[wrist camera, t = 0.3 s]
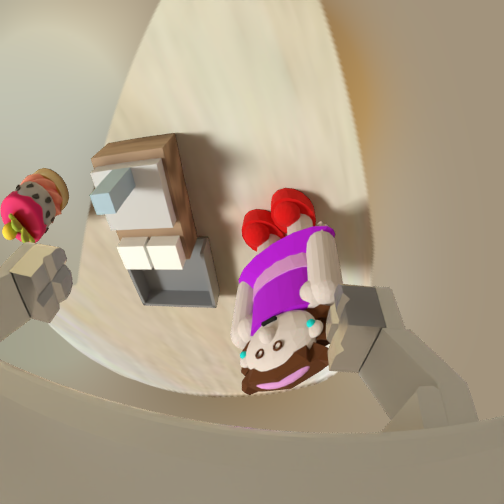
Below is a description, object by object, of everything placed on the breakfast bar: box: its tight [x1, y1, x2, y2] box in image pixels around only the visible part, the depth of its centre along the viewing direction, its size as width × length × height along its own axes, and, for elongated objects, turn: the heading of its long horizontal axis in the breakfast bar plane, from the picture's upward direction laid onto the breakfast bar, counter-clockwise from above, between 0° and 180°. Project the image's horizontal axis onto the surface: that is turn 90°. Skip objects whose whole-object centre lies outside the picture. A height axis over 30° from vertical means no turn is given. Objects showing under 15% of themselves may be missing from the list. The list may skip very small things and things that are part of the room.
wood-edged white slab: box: [91, 133, 197, 259], centre depth 51 cm, size 20×12×6 cm, turn 5°
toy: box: [230, 188, 343, 395], centre depth 43 cm, size 18×9×30 cm, turn 135°
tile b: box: [117, 237, 153, 269], centre depth 53 cm, size 5×5×2 cm
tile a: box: [146, 236, 186, 270], centre depth 52 cm, size 5×5×2 cm
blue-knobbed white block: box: [89, 158, 176, 231], centre depth 43 cm, size 10×11×9 cm
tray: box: [127, 237, 220, 308], centre depth 62 cm, size 14×16×5 cm
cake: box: [1, 168, 69, 243], centre depth 48 cm, size 10×11×15 cm
